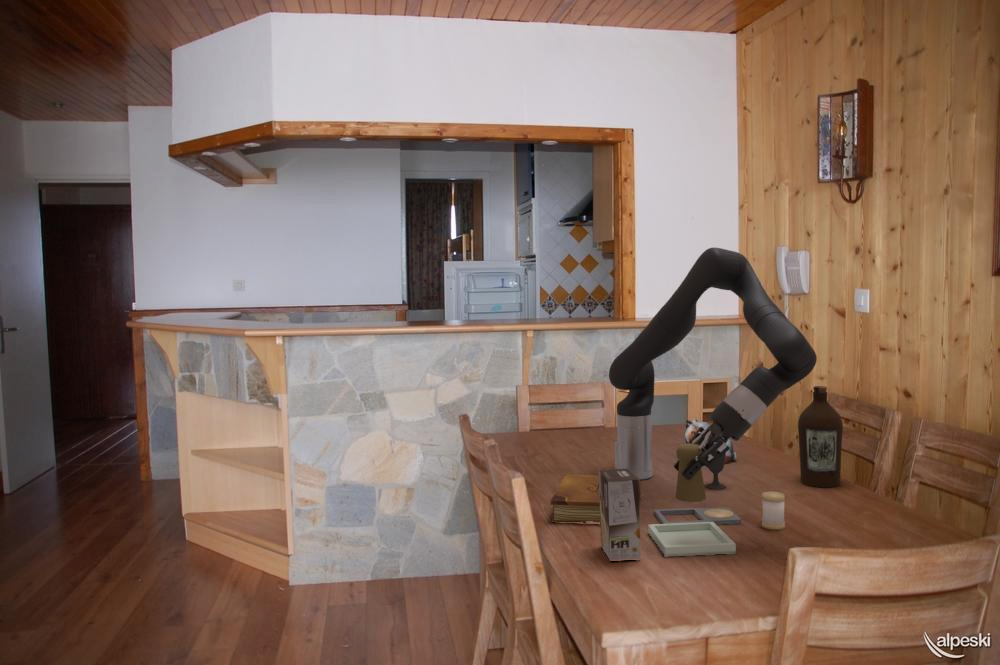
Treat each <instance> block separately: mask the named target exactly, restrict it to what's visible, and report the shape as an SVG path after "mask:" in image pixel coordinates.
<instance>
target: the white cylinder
mask: <svg viewBox="0 0 1000 665" xmlns="http://www.w3.org/2000/svg"><path fill="white" fill-rule="evenodd" d="M761 500H762V521H761V522H762V523H761V526H762V528H764V529H768V530H771V531H772V530H774V531H775V530H776V531H777V530H778V531H780V530H784V529H785V528H786V522H785V500H786V499H785V494H784V493H782V492H779V491H764V492H762V494H761Z"/></svg>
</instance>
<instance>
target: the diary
mask: <svg viewBox="0 0 1000 665" xmlns="http://www.w3.org/2000/svg"><path fill="white" fill-rule="evenodd" d="M637 478H638V477H637ZM638 479H639V478H638ZM641 484H642V483H641V479H639V503H640V500H641V497H642V496H641V494H642V492H641V491H642V490H641ZM550 505H551V506H553V517H552V519H551V520H550V522H551V521H553V522H555V521H556V522H583V523H586V521H593V522H600V495H599V474H598V475H591V474H590V475H589V474H565V475H564V477H563V478H562V480H561V481H560V483H559V485H558V487H557V489H556V490H555V492H554V494H553V496H552V498H551V499H550Z"/></svg>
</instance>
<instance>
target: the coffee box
mask: <svg viewBox="0 0 1000 665" xmlns="http://www.w3.org/2000/svg"><path fill="white" fill-rule="evenodd" d="M598 476H599V495H600V525H599V526H600V547H601V546H602V548H603V550H604V551H603V550H602V551H603V553H604V552H605V553H606V555H607V556H608V558H609V559H610V560H618V559H639V558H640V559H641V528H640V527H641V526H640V525H641V524H640V523H641V521H640V502H639V479H638V478H637V477H636V476H635V475H634V474H633V473H632V472H631V471H630V470H629V469H615V468H613V469H602V470H601V469H600V470H598ZM602 548H601V549H602ZM605 553H604V554H605ZM606 555H605V556H606ZM607 556H606V557H607ZM608 558H607V559H608Z"/></svg>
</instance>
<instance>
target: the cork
mask: <svg viewBox="0 0 1000 665" xmlns="http://www.w3.org/2000/svg"><path fill="white" fill-rule="evenodd" d="M698 448H699V445H697V444H690V443H688V444H686V443H682V444H679V445H678V447H677V448H676V452H675V453H676V457H677V460H679V469H678V471H677V478H676V479H677V481H676V488H675V498H676V500H678V501H680V502H688V503H697V502H702V501H705V500H706V499H707V496H706V490H705V484H704V476H703V471H702V468H701V469H700V470H699V471H698V472H697V473H696V474H695V475H694V476H693V477H692V478H691V479H690V480H687V479H686V478H685V477H684V476H683V475H682V474H681V471H682V470H683V469H684V468H685V467H686V466H687V465H688V464H689V463H690V462H691V461H692V460H694V458H695V456H696V455H697V454H698V452H699V450H698ZM694 461H695V460H694Z"/></svg>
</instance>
